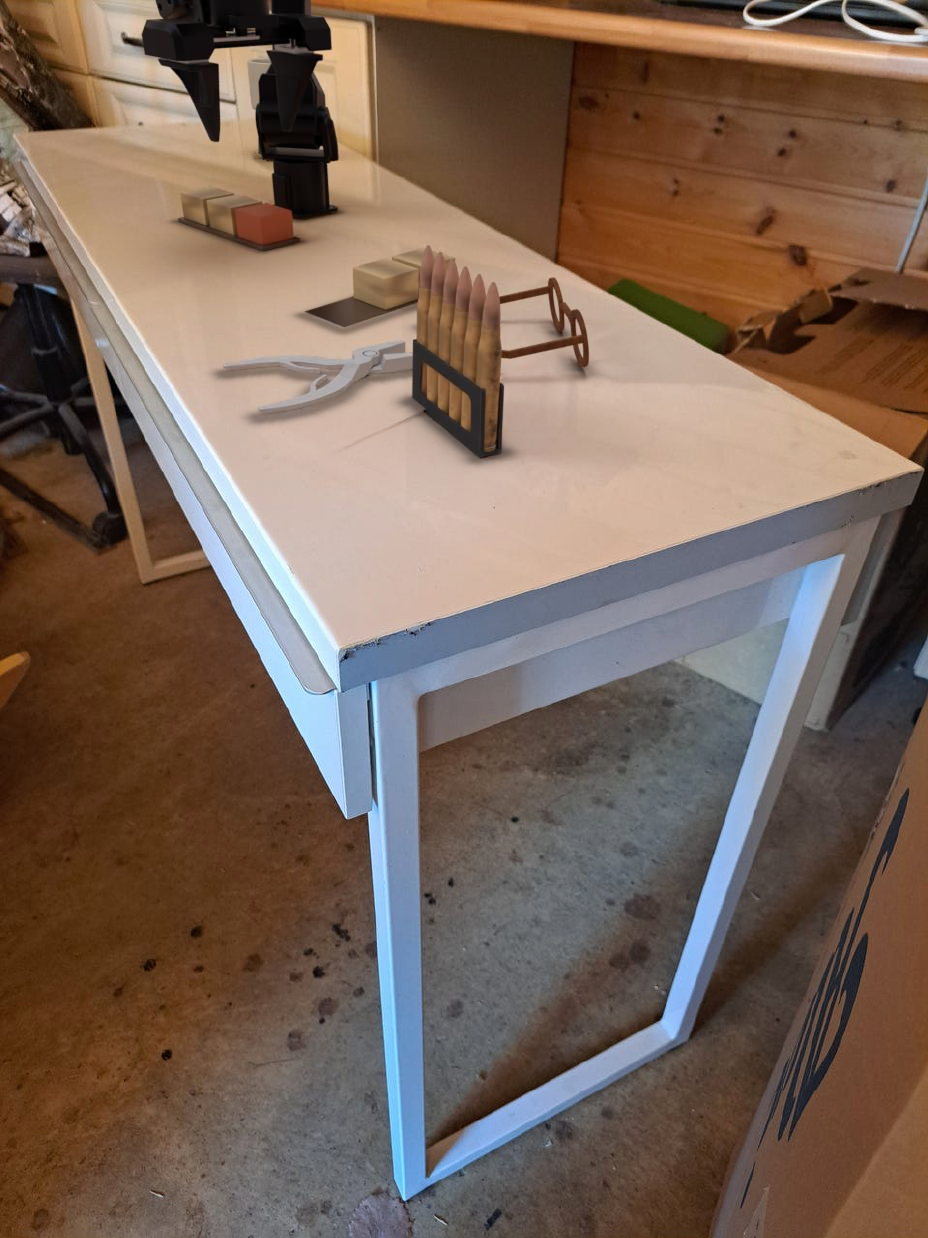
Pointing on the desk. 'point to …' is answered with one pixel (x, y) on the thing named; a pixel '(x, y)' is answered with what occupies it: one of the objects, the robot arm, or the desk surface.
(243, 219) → the red block
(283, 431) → the desk surface
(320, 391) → the pliers
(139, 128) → the desk surface
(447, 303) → the ammunition clip
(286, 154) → the robot arm
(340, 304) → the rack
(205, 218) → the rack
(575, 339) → the glasses
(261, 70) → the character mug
